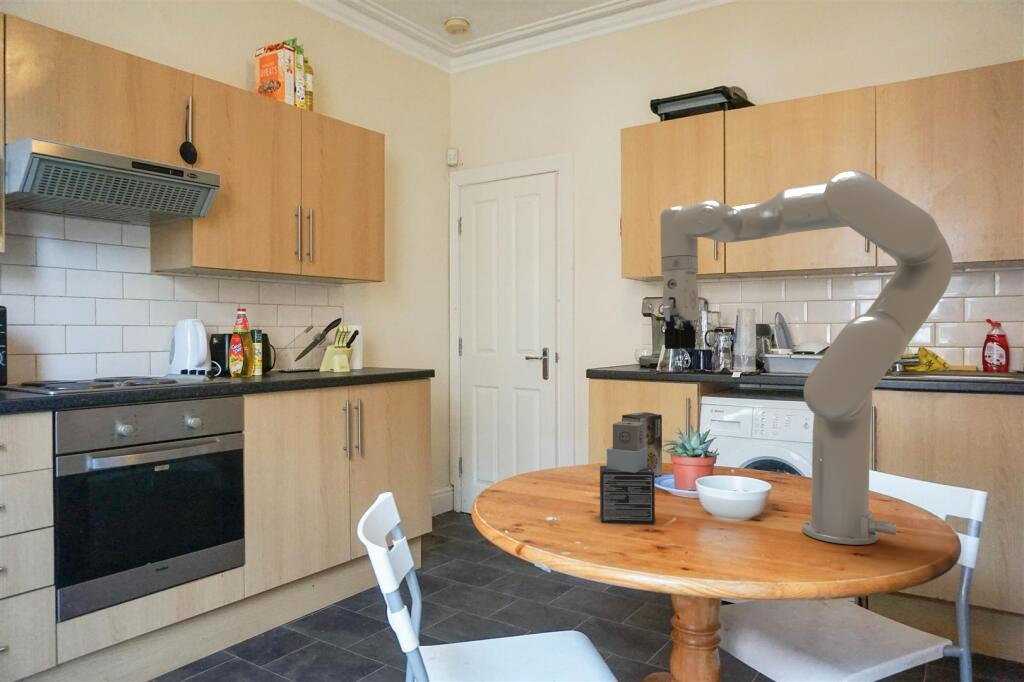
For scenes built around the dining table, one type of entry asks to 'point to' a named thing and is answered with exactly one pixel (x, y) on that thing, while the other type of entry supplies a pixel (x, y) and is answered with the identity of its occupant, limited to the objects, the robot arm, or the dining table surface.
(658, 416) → the coffee box
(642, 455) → the slate block
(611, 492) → the small box
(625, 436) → the brown grey cube
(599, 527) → the dining table surface
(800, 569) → the dining table surface
